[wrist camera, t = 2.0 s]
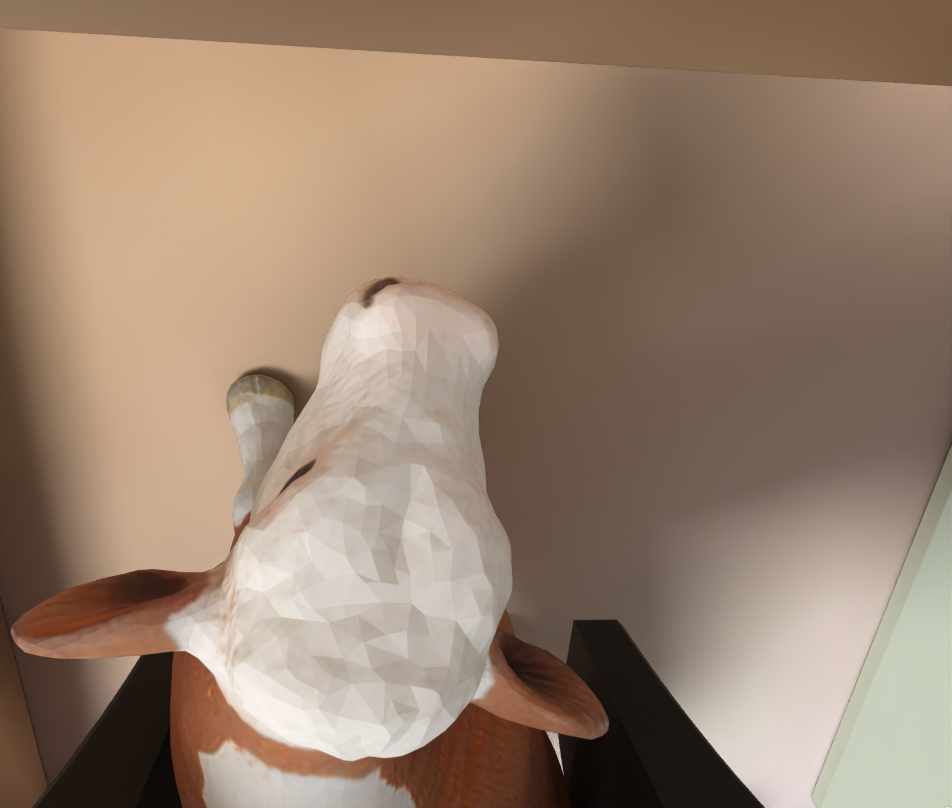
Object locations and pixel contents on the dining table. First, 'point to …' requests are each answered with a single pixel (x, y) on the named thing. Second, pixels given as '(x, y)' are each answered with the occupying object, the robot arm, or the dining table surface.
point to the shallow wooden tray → (521, 38)
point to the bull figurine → (351, 592)
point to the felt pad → (903, 686)
